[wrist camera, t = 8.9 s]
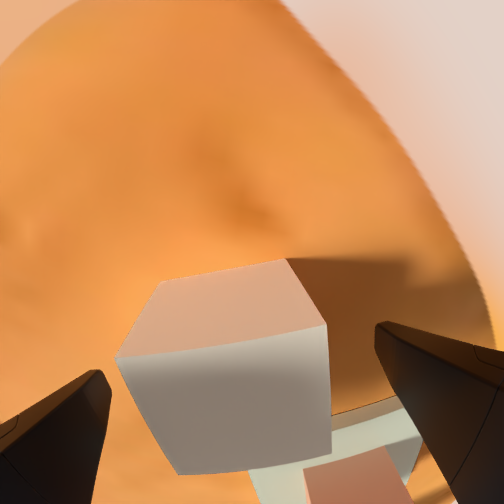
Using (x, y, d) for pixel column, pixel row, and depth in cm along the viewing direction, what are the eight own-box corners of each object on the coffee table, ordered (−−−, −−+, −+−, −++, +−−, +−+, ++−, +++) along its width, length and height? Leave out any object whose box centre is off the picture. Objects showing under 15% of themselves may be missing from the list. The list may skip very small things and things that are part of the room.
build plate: (401, 476, 15) (406, 485, 14) (267, 512, 15) (269, 522, 14) (427, 382, 13) (436, 393, 12) (238, 434, 13) (239, 449, 12)
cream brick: (299, 361, 12) (331, 453, 7) (192, 379, 12) (178, 475, 7) (284, 258, 11) (326, 324, 6) (160, 281, 11) (114, 358, 6)
